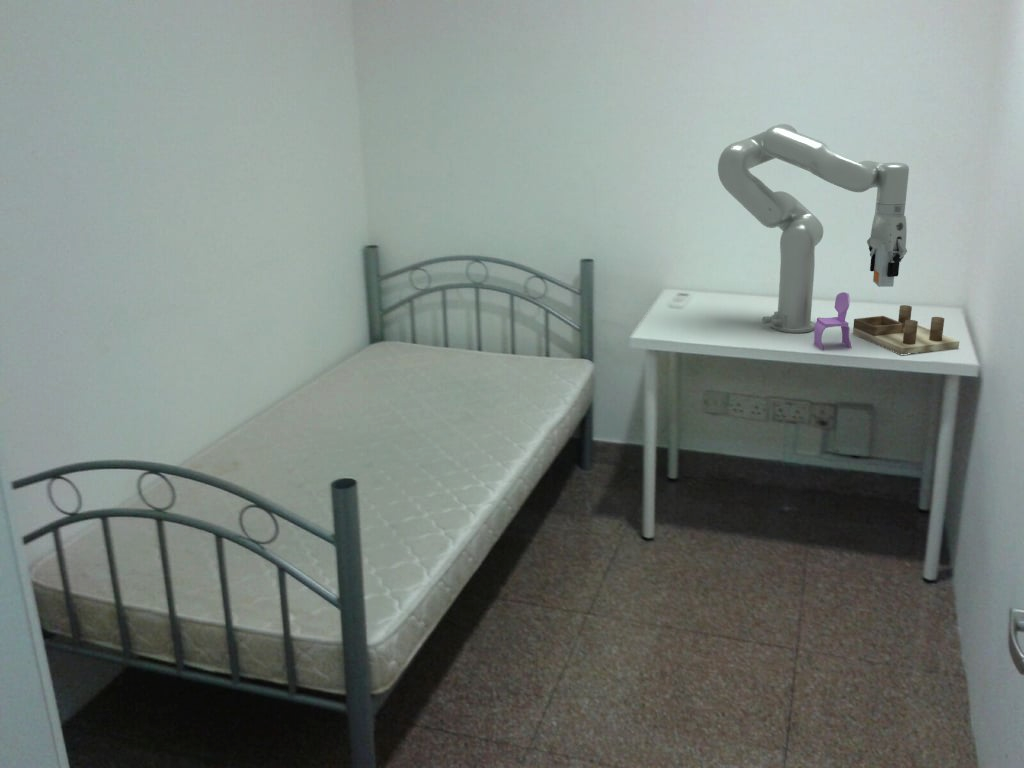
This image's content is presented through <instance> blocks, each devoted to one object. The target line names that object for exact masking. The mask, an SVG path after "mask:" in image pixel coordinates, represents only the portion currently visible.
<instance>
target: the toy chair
mask: <svg viewBox="0 0 1024 768" xmlns="http://www.w3.org/2000/svg"><path fill="white" fill-rule="evenodd" d="M849 307H850V294H849V292H845V291H844V292H840V293H838V294H837V295H836V297H835V301H834V309H835V311H836V312H837V316H833V317H816V321H815V322H814V323H815V329H814V330H813V333H814V336H813V341H814V342H813V343H814V344H815V346H817V347H818V348H819V349H820V350H822V351H824V346H823V341H822V338H823V337H822V336H823V333H824V331H825V329H827V328H835V327H840V329H841V343H842V344H843V345H845V346H846V347H848V348H849V349H850V348H851V350H853V347H852V344H851V343H852V342H851V340H850V330H851V329H850V327H849V322H848V321H846V318H847V313H848V310H849Z"/></svg>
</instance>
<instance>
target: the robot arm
mask: <svg viewBox="0 0 1024 768" xmlns="http://www.w3.org/2000/svg"><path fill="white" fill-rule="evenodd" d="M774 159H777V160H780V161H782V162H785V163H788V164H790V165H793V166H795V167H797V168H799V169H802V170H804V171H807V172H810V173H811V174H812V175H813V176H816V177H818V178H820V179H822V180H823V181H825V182H826V183H827V182H828V183H830V184H831V185H833V186H837V187H839V188H842V189H844V190H846V191H849V192H853V193H865V192H866V191H868V190H870V189H872V188H877V190H876V200H875V201H876V202H875V209H874V210H875V212H874V215H873V216H874V217H873V220H872V224H871V230H870V237H869V238H868V239H867V240H866V243H867V246H868V250H869V256H870V263H869V264H870V265H869V266H870V267H869V271H870V272H874V265H875V255H876V249H877V250H878V249H879V247H880V244H881V243H882V244H885V251H886V252H888V254H889V258H890V262H888V271H887V277H894V278H895V277H898V276H899V273H900V272H899V270H900V263H901V262H902V259H904V256H905V255H906V254H908V249H907V234H908V233H907V232H908V229H907V217H906V215H905V213H906V212H905V211H906V203H907V202H906V201H907V192H908V182H909V174H910V172H909V171H910V168H909V165H907V164H906V163H902V162H879V161H871V160H863V161H860V162H856V161H853V160H850V159H848V158H845V157H843V156H840V154H837V153H835V151H832V150H831V149H830V148H829V146H828V145H827V144H826V143H824V142H823V141H820V140H818V139H815V138H812V137H809V135H808V136H807V135H805V134H802V133H799V132H798V131H797V129H796V128H795V127H794V126H792V125H790V124H788V123H787V124H786V123H781V124H776V125H773V126H771V127H769V128H767V129H766V130H765V131H763V132H760V133H758V134H757V133H756V134H755V135H752V136H750V137H748V138H745V139H742V140H740V141H739V140H738V141H735V142H733V143H730V144H729V145H727V146H726V147H725V148H724V149H723V151H722V152H721V154H720V156H719V159H718V163H717V173H718V177H719V180H720V183H721V185H722V186H723V188H724V189H725V190H726V191H727V192H728V194H730V195H731V196H732V197H733V198H734V199H735V200H736V201H737V202H739V204H741V206H743V208H745V210H746V211H748V213H750V214H751V216H753V218H755V219H756V220H757V221H758V222H760V224H761V225H762V226H764V227H766V228H769V229H774V228H777V227H778V228H779V229H780V230H781V236H780V240H779V250H780V251H779V252H780V265H779V266H780V268H779V271H780V272H779V284H778V285H779V288H778V289H779V290H778V299H777V300H778V304H777V311H773V312H774V313H773V314H772V315H771V316H769V315H768V316H762V318H761V322H762V323H763V324H771V328H773V330H776V331H780V332H783V333H795V334H800V333H801V334H802V333H809V332H812V331H813V332H814V331H815V323H816V322H813V321H812V320H811V319H812V308H813V307H812V306H813V295H814V294H813V293H814V281H815V279H814V278H815V264H816V263H815V257H816V256H815V247H816V246H817V245H818V244H819V243H820V242H821V241H822V239H823V235H824V226H823V224H822V222H821V221H820V220H819V218H817V216H816V215H814V214H813V213H812V212H811V211H810V210H809V209H808V208H807V207H806V206H805V205H804V204H802V202H800V201H799V200H798V199H797V198H796V197H794V195H792V194H790V193H788V192H786V191H782V190H781V191H773V190H771V189H770V188H769V187H768V186H767V185H766V184H765V183H764V182H763V181H762V180H761V179H759V177H756V176H755V174H753V173H752V172H751V171H750V169H752V168H754V167H757V166H759V165H762V164H764V163H767V162H769V161H771V160H774ZM896 245H897V251H893V249H894V248H895V246H896ZM895 253H896V255H895V257H894V256H893V254H895Z"/></svg>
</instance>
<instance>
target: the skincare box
mask: <svg viewBox="0 0 1024 768" xmlns="http://www.w3.org/2000/svg"><path fill="white" fill-rule="evenodd" d="M893 251H897V245H896V246H895V248H894V249H893ZM895 255H896V253H895V254H893V256H894V257H895ZM888 262H890V258H889V254H888V252H886V251H885V244H882V243H881V244H880V247H879V249H878V250H877V249H876V255H875V265H874V271H873V277H872V278H873V279H872V282H873V283H874V284H875V285H876V286H877V287H879V288H882V287H883V288H885V287H887V288H888V287H892V288H893V287H894V284H895V277H887V271H888Z"/></svg>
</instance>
